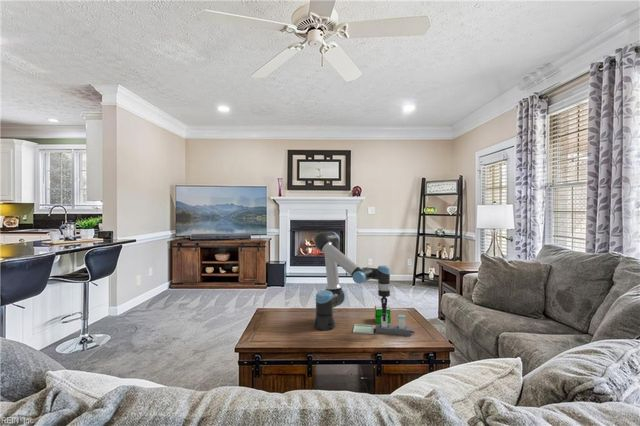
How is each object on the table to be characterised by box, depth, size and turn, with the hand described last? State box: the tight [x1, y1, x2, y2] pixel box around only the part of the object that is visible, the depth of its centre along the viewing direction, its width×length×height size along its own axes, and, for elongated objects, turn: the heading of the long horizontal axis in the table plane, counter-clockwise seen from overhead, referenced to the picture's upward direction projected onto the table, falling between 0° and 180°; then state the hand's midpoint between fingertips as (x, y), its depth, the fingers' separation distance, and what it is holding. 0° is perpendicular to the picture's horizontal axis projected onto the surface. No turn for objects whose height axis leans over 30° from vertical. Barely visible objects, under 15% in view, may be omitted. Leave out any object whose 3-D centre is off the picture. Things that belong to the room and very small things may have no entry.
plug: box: [380, 314, 389, 328], centre depth 196 cm, size 4×4×11 cm
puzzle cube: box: [374, 304, 391, 324], centre depth 216 cm, size 10×10×10 cm
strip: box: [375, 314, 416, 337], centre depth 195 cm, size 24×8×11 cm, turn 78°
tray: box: [352, 323, 375, 335], centre depth 199 cm, size 13×13×1 cm
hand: (384, 322), depth 196 cm, fingers open, 13 cm apart
